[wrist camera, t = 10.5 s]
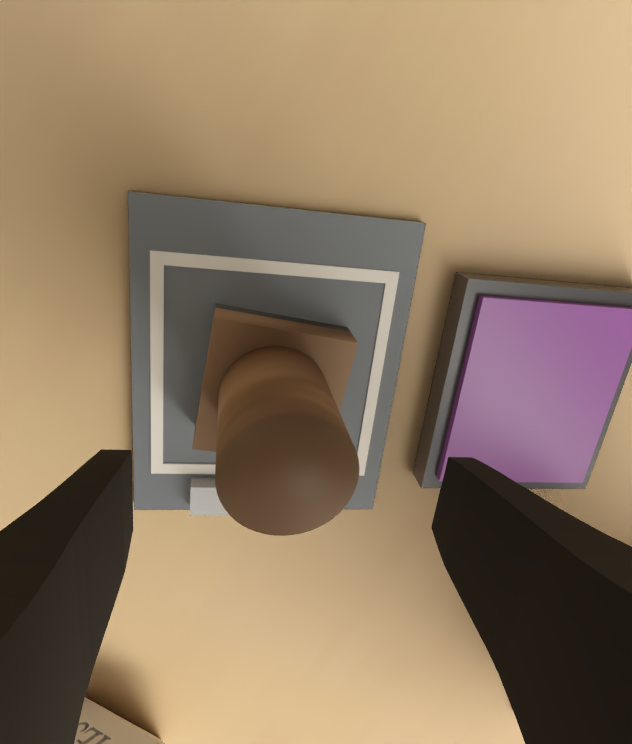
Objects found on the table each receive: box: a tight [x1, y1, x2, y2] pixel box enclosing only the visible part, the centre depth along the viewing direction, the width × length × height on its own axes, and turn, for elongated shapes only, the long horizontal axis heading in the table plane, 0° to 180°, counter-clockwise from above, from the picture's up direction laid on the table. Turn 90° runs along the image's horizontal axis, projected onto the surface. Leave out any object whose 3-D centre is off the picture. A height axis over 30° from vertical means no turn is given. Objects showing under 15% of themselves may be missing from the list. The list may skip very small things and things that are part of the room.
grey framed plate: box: [128, 191, 426, 516], centre depth 17 cm, size 9×11×1 cm
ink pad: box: [413, 272, 632, 489], centre depth 19 cm, size 7×8×1 cm
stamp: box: [192, 303, 359, 536], centre depth 15 cm, size 4×4×6 cm
